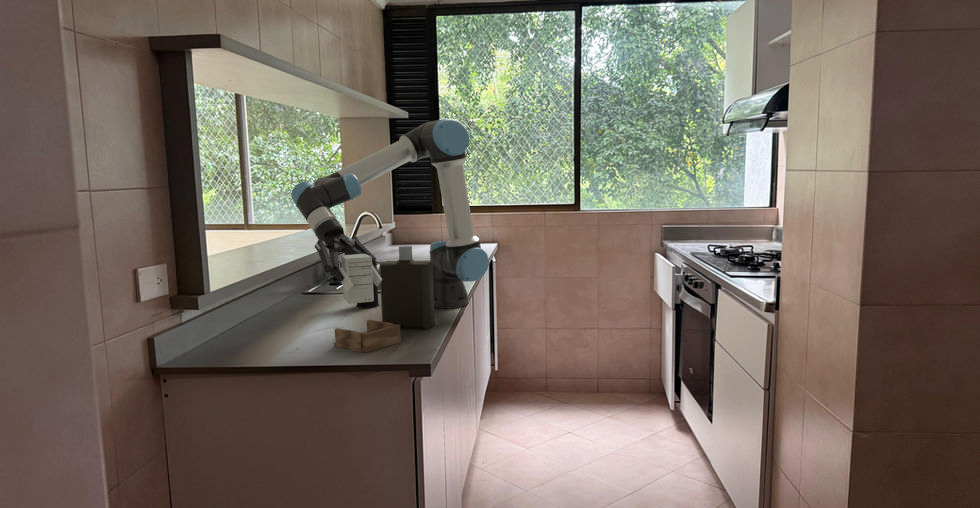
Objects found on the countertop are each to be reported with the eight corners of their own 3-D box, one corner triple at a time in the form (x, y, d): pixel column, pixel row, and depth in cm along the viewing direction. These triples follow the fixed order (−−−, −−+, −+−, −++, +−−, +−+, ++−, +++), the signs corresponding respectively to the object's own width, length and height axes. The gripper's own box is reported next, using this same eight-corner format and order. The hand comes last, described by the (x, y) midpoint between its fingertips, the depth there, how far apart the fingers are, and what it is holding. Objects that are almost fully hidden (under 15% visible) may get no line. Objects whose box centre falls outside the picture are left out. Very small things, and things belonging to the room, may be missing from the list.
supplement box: (343, 299, 184) (340, 255, 182) (369, 296, 186) (366, 253, 185) (347, 304, 177) (345, 258, 175) (374, 301, 180) (372, 256, 178)
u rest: (334, 346, 181) (333, 328, 180) (369, 335, 191) (368, 319, 190) (366, 353, 173) (365, 334, 172) (400, 342, 183) (399, 324, 183)
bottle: (427, 330, 196) (424, 248, 193) (379, 327, 201) (375, 247, 198) (437, 324, 204) (434, 245, 201) (390, 321, 208) (386, 244, 205)
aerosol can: (377, 308, 230) (374, 252, 227) (353, 308, 230) (351, 252, 228) (381, 303, 238) (378, 249, 236) (358, 303, 238) (356, 249, 236)
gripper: (350, 231, 197) (388, 287, 190) (287, 239, 180) (327, 301, 172) (361, 214, 193) (400, 271, 186) (298, 220, 176) (338, 283, 168)
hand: (365, 285), depth 179 cm, fingers closed on supplement box, 10 cm apart
